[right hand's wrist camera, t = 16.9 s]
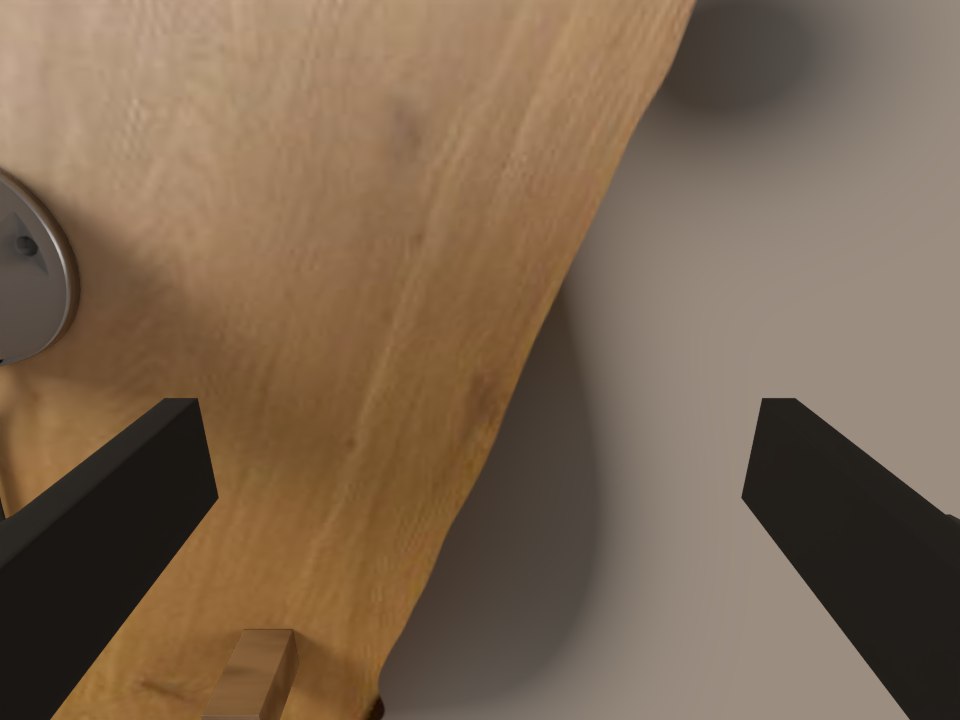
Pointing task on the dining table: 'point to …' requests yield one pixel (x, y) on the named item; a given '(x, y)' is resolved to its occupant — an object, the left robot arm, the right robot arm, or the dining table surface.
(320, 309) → the dining table surface
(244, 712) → the wooden block
